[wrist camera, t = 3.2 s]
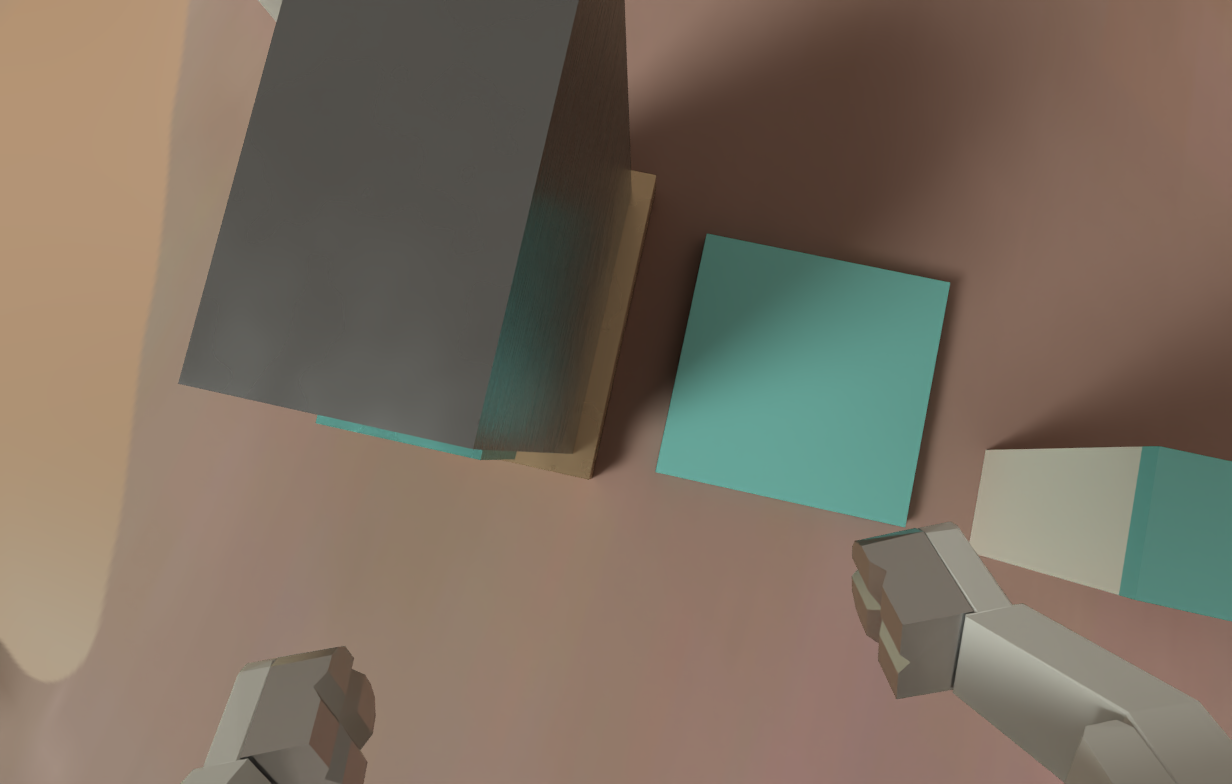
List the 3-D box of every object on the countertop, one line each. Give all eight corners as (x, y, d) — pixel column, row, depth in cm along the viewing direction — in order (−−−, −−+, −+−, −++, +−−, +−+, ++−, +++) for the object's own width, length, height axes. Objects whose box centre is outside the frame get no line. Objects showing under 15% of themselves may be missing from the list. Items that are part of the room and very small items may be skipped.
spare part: (1072, 574, 34) (1296, 635, 23) (967, 551, 35) (1135, 599, 23) (1089, 472, 35) (1317, 479, 23) (985, 450, 35) (1159, 446, 23)
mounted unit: (591, 478, 36) (511, 511, 14) (436, 443, 36) (117, 422, 14) (655, 190, 37) (675, -203, 15) (504, 160, 37) (307, -266, 15)
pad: (897, 525, 35) (905, 527, 34) (655, 471, 35) (655, 472, 34) (941, 287, 36) (950, 282, 35) (705, 239, 36) (706, 233, 35)
